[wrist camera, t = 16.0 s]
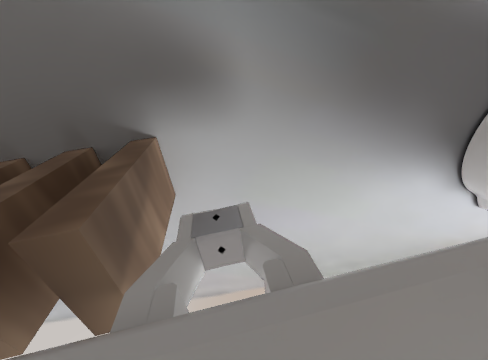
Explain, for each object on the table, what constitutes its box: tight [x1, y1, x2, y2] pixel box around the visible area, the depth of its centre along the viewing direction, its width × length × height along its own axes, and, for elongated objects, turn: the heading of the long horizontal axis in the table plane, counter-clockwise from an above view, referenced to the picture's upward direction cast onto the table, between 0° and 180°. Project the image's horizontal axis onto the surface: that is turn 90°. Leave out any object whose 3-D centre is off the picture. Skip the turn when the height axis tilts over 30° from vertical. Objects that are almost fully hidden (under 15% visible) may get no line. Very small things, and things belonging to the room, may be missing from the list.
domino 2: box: [8, 137, 175, 336], centre depth 11 cm, size 2×5×10 cm, turn 7°
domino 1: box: [0, 147, 101, 360], centre depth 11 cm, size 2×5×10 cm, turn 7°
